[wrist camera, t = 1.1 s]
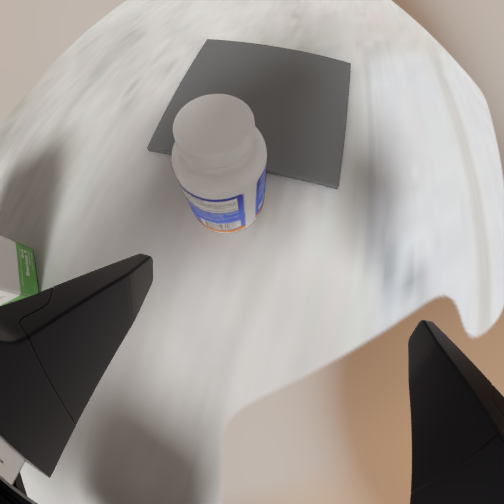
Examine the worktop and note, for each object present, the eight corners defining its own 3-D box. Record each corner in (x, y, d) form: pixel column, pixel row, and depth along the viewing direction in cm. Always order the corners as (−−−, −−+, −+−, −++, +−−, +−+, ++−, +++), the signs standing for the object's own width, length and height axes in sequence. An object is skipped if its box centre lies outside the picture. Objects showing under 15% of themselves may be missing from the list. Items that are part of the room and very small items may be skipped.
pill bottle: (230, 158, 24) (220, 69, 14) (278, 202, 23) (293, 120, 13) (178, 201, 23) (137, 124, 13) (224, 250, 22) (204, 189, 12)
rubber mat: (337, 188, 23) (338, 186, 23) (149, 150, 24) (147, 147, 24) (349, 66, 27) (350, 63, 27) (207, 42, 28) (207, 39, 28)
